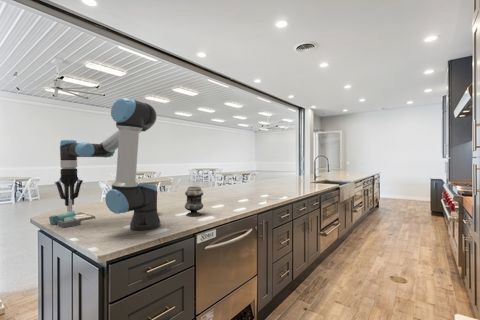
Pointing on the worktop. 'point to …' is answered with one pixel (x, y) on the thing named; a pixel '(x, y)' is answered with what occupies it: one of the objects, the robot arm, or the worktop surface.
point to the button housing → (68, 223)
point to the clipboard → (83, 216)
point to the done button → (68, 219)
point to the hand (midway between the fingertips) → (69, 211)
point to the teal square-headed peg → (61, 217)
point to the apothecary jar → (194, 201)
